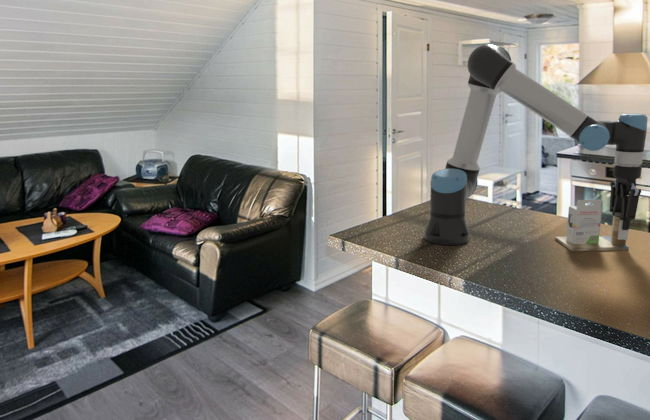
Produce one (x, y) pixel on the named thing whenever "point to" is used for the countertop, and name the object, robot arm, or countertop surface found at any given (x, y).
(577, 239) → the ink box
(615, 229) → the grey and tan cylinder
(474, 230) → the countertop surface
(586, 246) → the plywood panel
